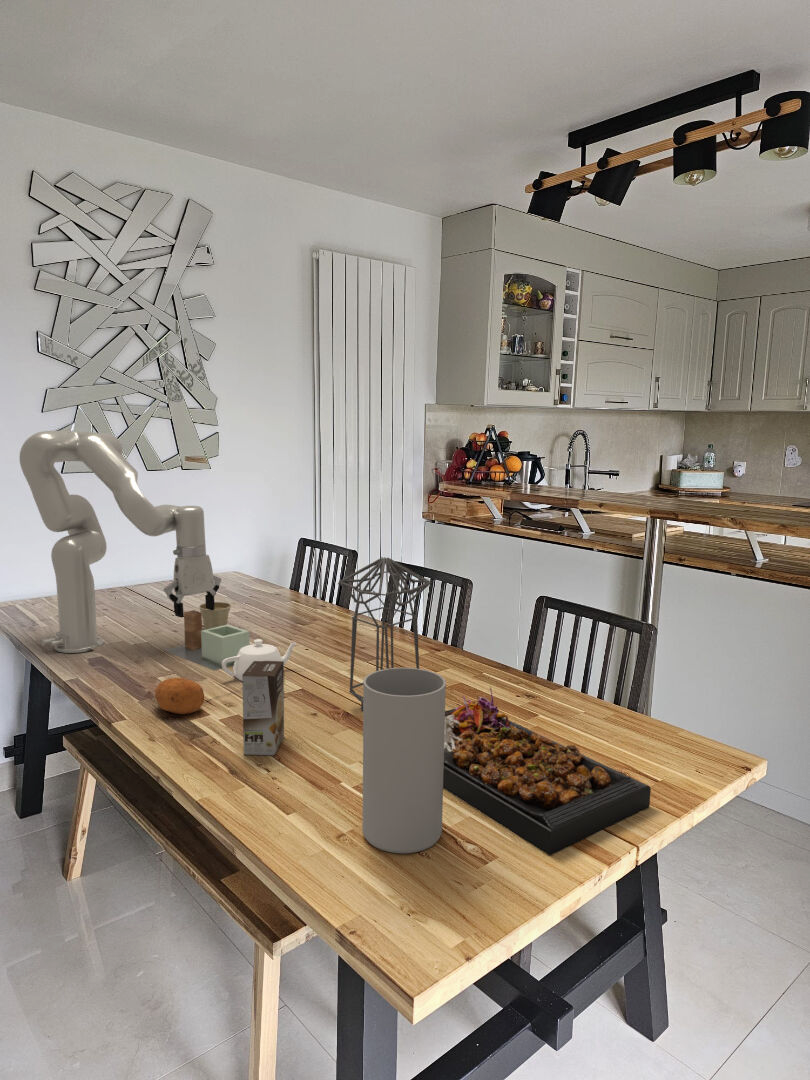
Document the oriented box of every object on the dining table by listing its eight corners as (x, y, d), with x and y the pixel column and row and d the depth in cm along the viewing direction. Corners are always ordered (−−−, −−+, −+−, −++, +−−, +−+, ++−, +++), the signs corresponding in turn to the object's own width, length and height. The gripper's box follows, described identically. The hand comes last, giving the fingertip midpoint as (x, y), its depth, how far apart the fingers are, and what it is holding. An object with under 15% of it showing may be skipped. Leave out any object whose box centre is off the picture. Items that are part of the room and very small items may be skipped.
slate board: (214, 674, 187) (214, 670, 187) (163, 653, 202) (163, 649, 202) (259, 661, 197) (259, 657, 197) (207, 642, 213) (207, 639, 213)
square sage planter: (223, 667, 189) (222, 638, 188) (202, 659, 195) (201, 630, 194) (249, 659, 195) (249, 631, 194) (228, 652, 201) (228, 624, 200)
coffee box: (275, 756, 142) (274, 676, 140) (242, 755, 142) (241, 675, 140) (285, 736, 151) (284, 660, 149) (253, 735, 152) (252, 659, 149)
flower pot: (236, 629, 226) (235, 602, 225) (225, 638, 217) (225, 610, 215) (206, 628, 227) (205, 601, 226) (194, 637, 218) (193, 608, 216)
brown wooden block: (193, 650, 202) (192, 614, 201) (185, 647, 205) (183, 612, 203) (202, 647, 205) (201, 612, 203) (194, 644, 207) (193, 610, 206)
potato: (169, 723, 156) (167, 690, 155) (147, 708, 165) (145, 675, 163) (209, 712, 163) (208, 680, 161) (186, 698, 171) (185, 667, 170)
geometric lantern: (433, 710, 166) (436, 558, 159) (381, 732, 155) (382, 569, 148) (385, 690, 177) (386, 547, 170) (334, 709, 166) (332, 557, 159)
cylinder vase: (349, 845, 113) (349, 689, 109) (380, 806, 124) (382, 663, 120) (426, 863, 109) (430, 701, 104) (451, 821, 120) (456, 674, 116)
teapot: (285, 665, 195) (285, 627, 193) (308, 678, 185) (308, 639, 183) (212, 679, 183) (211, 639, 182) (232, 694, 173) (231, 653, 172)
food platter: (379, 750, 147) (380, 701, 145) (472, 722, 161) (473, 677, 160) (549, 859, 111) (552, 795, 109) (649, 810, 126) (653, 753, 124)
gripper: (170, 557, 192) (174, 621, 194) (226, 548, 204) (229, 608, 207) (155, 554, 197) (159, 617, 199) (210, 546, 209) (213, 604, 212)
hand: (195, 612), depth 203 cm, fingers open, 9 cm apart
